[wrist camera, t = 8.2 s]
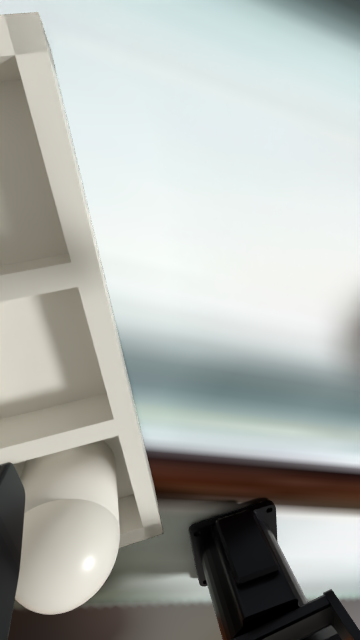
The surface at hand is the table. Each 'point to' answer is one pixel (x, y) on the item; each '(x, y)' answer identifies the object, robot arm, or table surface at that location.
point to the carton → (60, 349)
